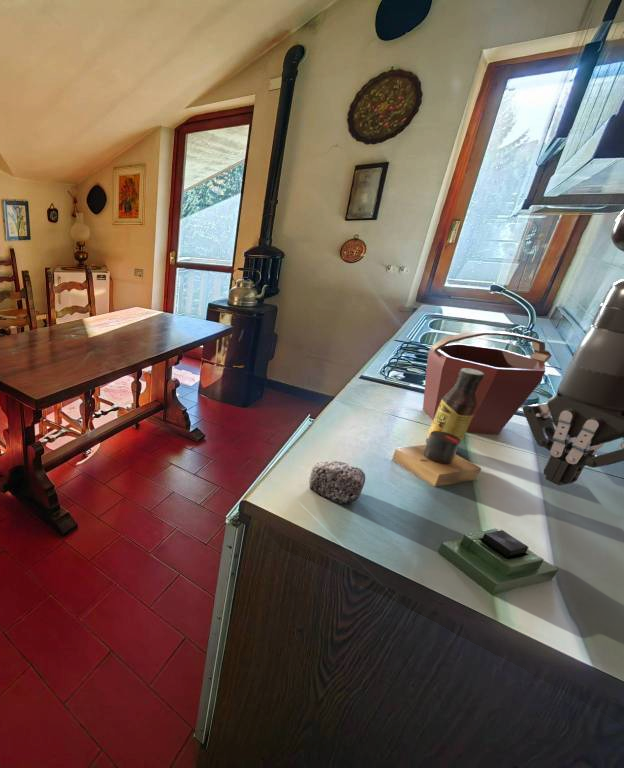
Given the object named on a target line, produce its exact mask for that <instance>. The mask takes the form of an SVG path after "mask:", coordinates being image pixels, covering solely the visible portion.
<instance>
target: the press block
mask: <svg viewBox="0 0 624 768" xmlns="http://www.w3.org/2000/svg"><path fill="white" fill-rule="evenodd" d="M494 531H499V529H497V528H491V529H486V530H480V531H475V532H470V533H466V534H463V537H462V538H458V539H453V540H448V541H444V542H441V544H440V547H439V548H438V551H437V554H439V555H440V556H441V557H443V558H444V559H445V560H446V561H448V562H449V563H450V564H451V565H452V566H454V567H455V568H456V569H457V570H459V571H460V572H461V573H463V574H464V575H466V576H467V577H468V578H469V579H471V580H472V581H473V582H475V584H477V585H478V586H479V587H481V588H482V589H483V590H484V591H486V592H487V593H488V594H489V595H491V596H492V595H497V594H501V593H505V592H508V591H513V590H517V589H521V588H525V587H529V586H533V585H538V584H541V583H546V582H549V581H553V579H554V578H555V576H556V574H557V573H558V571H559V569H558V568H557V567H556V566H554V565H552V564H551V563H549V562H547V561H546V560H545V559H544V558H543V557H541V556H539V555H537V554H536V553H534V552H533V551H532V550H530V549H529V548H528V549H527V551H526V553H525V555H524V556H520V557H515V558H511V559H506V558H505V557H503V556H502V555H501V554H499V553H498V552H496V551H495V550H493V549H492V548H490V547H489V546H487V545H486V544H485V543H483V542H482V541H481V540H482V538H483V536H484V534H485V533H489V532H494Z"/></svg>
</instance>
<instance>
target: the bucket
mask: <svg viewBox="0 0 624 768" xmlns="http://www.w3.org/2000/svg"><path fill="white" fill-rule="evenodd" d="M482 336H503V337H512V338H516V339H522V340H526V341H528V342H531V347H532V350H533V353H532V354H531V355H530V356H527V355H525V354H522V353H521V354H520V353H517V352H513V351H510V350H506V349H503V348H498V347H497V348H496V347H489V346H481V345H474V344H465V343H458V342H460V341H463V340H466V339H467V340H468V339H472V338H477V337H482ZM551 357H552V354H551V352H550V351H548V350H546V342H545V341H543V340H541V339H539V338H536V337H532V336H528V335H524V334H519V333H516V332H515V333H514V332H509V331H503V330H502V331H501V330H490V329H489V330H487V329H486V330H484V329H483V330H481V329H479V330H473V331H467V332H462V333H458V334H455V335H452V336H446V337H444V338H442V339H440V340H438V341H436V342H435V343H433V344H432V345H431V346H430V347H429V351H428V354H427V361H426V370H425V382H424V392H423V403H422V410H423V412H425V413H426V415H427V416H428V417H429V418H430V419H431V420H432V421H433V420H434V417H435V415H436V412H437V410H438V407H439V405H440V403H441V400H442V398H443V397H444V396H445V395H446V394H447V393H448V392H449V391H450V390H451V389H452V388H453V387H454V386H455V384H456V382H457V379H458V377H459V372H460V370H461V369H463V368H469V369H474V370H478V371H481V372H483V373H484V377H483V379H482V380H481V381H480V383H479V385H478V387H477V391H476V392H475V394H476V396H477V399H478V404H477V406H476V409H475V411H474V415H473V417H472V419H471V421H470V423H469V426H468V428H467V430H466V432H465V433H469V432H470V433H471V434H484V435H485V434H486V435H487V434H488V435H499V434H500V432H501V431H502V430H503V429H504V427H506V425H507V424H508V423H509V421H510V420H511V419H512V418H513V417H514V416H515V414H516V413H517V412H518V410H519V409H520V408H521V407H522V406H523V404H525V402H526V401H527V399H528V398H529V397H530V396H531V394H532V393H533V392H534V391H535V390H536V389H537V387H538V386H539V385H540V384H541V381H542V379H543V377H544V375H545V373H546V365H545V363H546V362H548V361H549V359H551Z"/></svg>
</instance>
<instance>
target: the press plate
mask: <svg viewBox="0 0 624 768" xmlns="http://www.w3.org/2000/svg"><path fill="white" fill-rule="evenodd" d="M498 530H499V529H498ZM481 541H482V542H483V543H485V544H486V545H487V546H489V547H490V548H492V549H493V550H495V551H496V552H498V553H499V554H501V555H502V556H503V557H505V558H506V559H511V558H515V557H520V556H524V555H525V553H526V551H527V549H528V550H529V549H530V548H529V546H528V545H526V543H523V542H522V541H521V540H519V539H517V538H516V537H514V536H513V535H511V534H509V533H508V532H506V531H505V530H503V529H500V530H499V531H494V532H489V533H485V534H484V536H483V538H482V540H481Z"/></svg>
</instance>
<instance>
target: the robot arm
mask: <svg viewBox="0 0 624 768" xmlns="http://www.w3.org/2000/svg"><path fill="white" fill-rule="evenodd" d="M610 236H611V237H610V238H611V241H612V244H613V245H614V247H615V248H616V249H619V251H620V252H623V253H624V209H623V210H622V211H621V212H620V214H619V215H618V216H617V218H616V219H615V221H614V223H613V225H612V227H611V232H610ZM571 356H572V357H571V360H570V362H569V364H568V366H567V368H566V370H565V372H564V375H563V376H562V379H561V381H560V382H559V384H558V387H557V391H556V393H555V394H554V395H553V396H551V397H550V398H549V399H547V402H546V403H536V404H535V403H534V404H529V405H524V406H523V407H522V412H523V414H524V416H525V419H526V422H527V424H528V426H529V428H530V430H531V434H532V435H533V437H534V440H535V442H536V444H537V445H538V446H539V447H541V448H545V449H546V450H548V451H549V453H550V457H549V459H548V460H547V462H546V464H545V466H544V468H543V475H545V481H546V480H547V481H548V482H550V483H552V484H554V485H557V486H559V487H560V486H564V485H569V484H573V483H575V482H577V480H578V478H579V477H580V475H581V473H582V471H583V470H584V467H585V466H587V467H589V468H595V469H596V468H600V467H606V466H610V465H613V464H614V465H615V464H617V463H621V462H624V441H622V442H620V447H621V449H617V450H614V451H610V452H606V453H603V454H599V455H596V453H597V451H599V450H600V449H601V448H602V447H603V446H604V445H605V443H610V442H613V441H616V440H619V439H622V438H624V279H620V280H618V281H616V282H614V283H613V284H611V286H610V287H609V288H608V290H607V291H606V293H605V295H604V297H603V299H602V302H601V303H600V305H599V307H598V309H597V312H596V314H595V316H594V318H593V320H592V322H591V325H590V327H589V328H588V330H587V331H586V333H585V334H584V335H583V336H582V338H581V340H580V341H579V343H578V345H577V347H576V349H574V351H573V353H572V355H571ZM551 418H552V419H551ZM552 421H553V422H552ZM553 423H554V424H553Z"/></svg>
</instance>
